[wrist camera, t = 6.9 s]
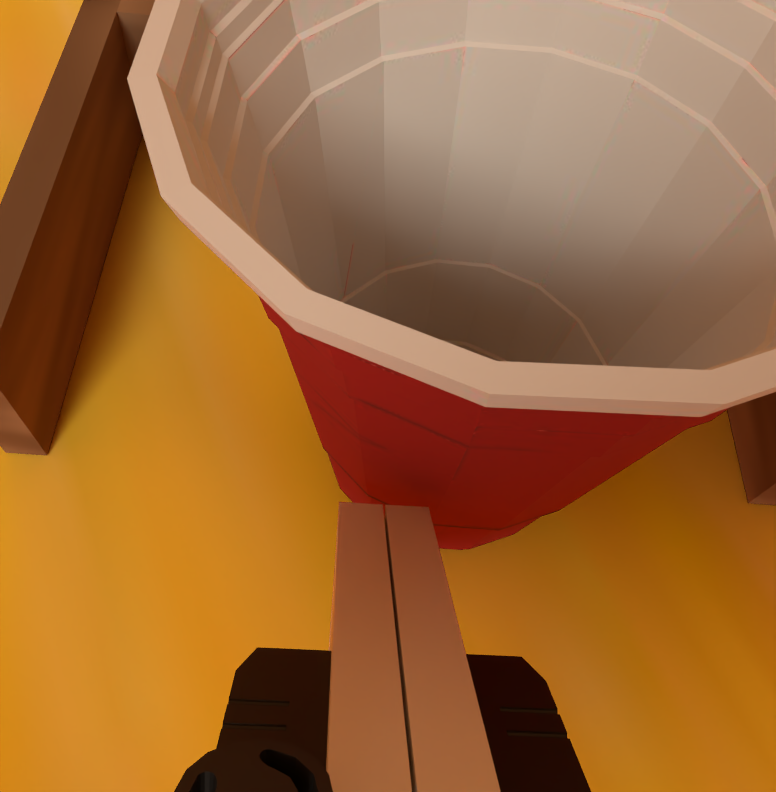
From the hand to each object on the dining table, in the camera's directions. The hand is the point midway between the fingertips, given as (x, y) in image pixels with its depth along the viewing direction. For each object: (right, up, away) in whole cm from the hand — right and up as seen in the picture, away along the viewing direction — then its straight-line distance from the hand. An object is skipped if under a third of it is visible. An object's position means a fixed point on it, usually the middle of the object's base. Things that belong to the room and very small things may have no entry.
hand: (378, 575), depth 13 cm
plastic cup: (+1, +2, +6) cm, 7 cm away
